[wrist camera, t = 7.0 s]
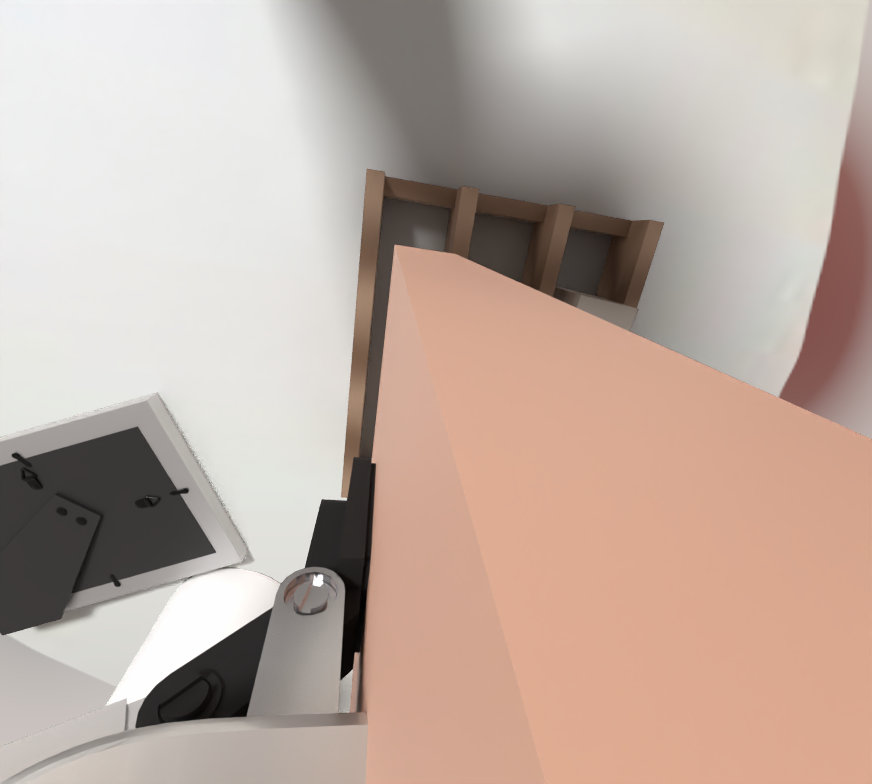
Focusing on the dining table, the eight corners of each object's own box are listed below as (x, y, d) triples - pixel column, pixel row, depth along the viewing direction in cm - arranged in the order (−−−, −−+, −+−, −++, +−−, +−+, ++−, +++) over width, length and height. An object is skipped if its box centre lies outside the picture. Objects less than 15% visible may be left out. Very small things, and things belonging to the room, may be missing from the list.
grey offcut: (546, 283, 30) (581, 295, 25) (594, 295, 31) (638, 308, 25) (501, 425, 34) (522, 463, 29) (544, 433, 35) (573, 471, 29)
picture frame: (30, 606, 37) (250, 544, 37) (2, 635, 34) (239, 568, 34) (-103, 464, 31) (161, 389, 31) (-149, 486, 28) (140, 404, 28)
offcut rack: (370, 177, 26) (366, 168, 23) (629, 223, 29) (664, 222, 25) (346, 468, 34) (341, 497, 30) (553, 482, 37) (571, 510, 33)
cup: (159, 567, 36) (55, 718, 25) (296, 565, 37) (256, 707, 26) (178, 659, 40) (96, 824, 29) (300, 654, 41) (267, 809, 30)
